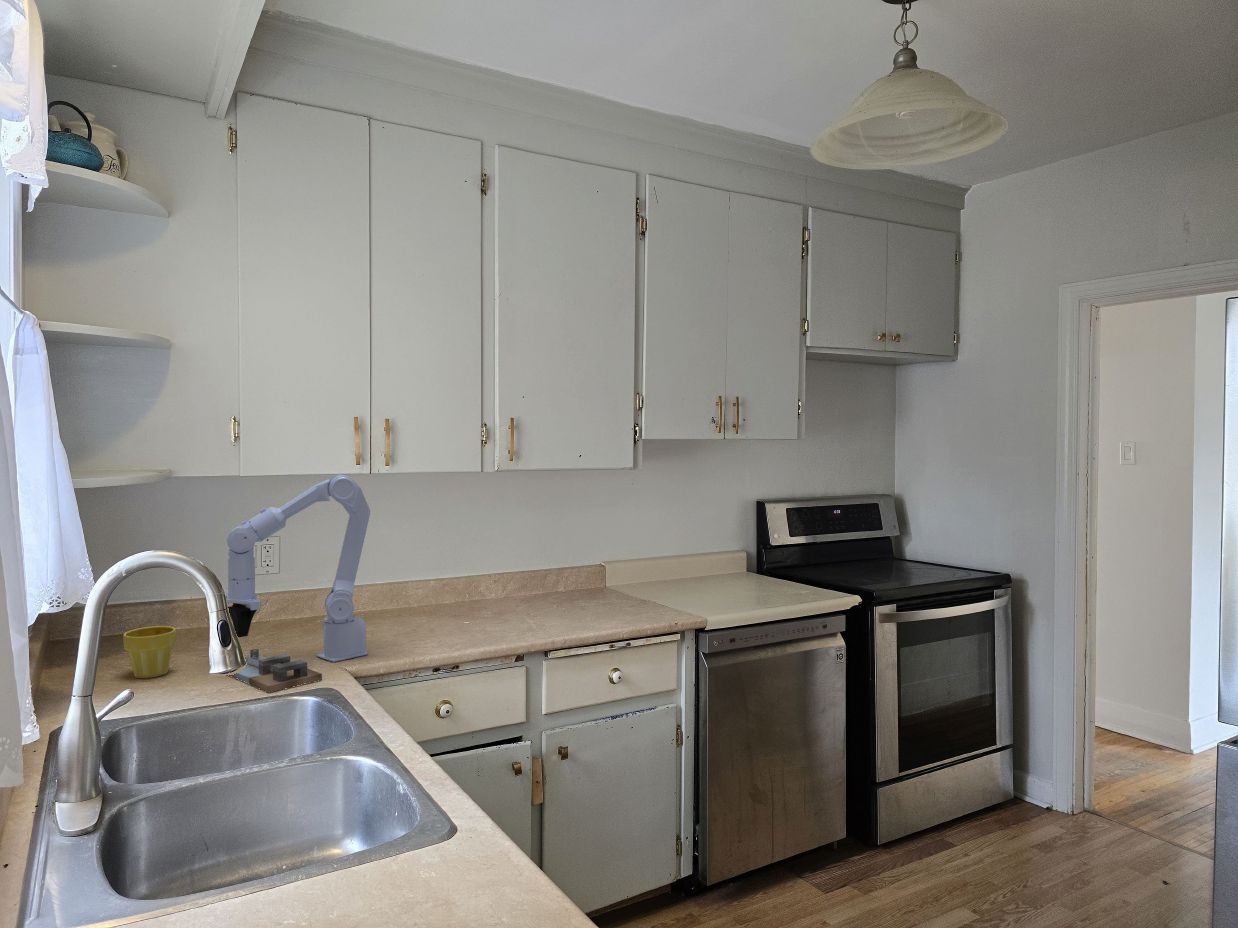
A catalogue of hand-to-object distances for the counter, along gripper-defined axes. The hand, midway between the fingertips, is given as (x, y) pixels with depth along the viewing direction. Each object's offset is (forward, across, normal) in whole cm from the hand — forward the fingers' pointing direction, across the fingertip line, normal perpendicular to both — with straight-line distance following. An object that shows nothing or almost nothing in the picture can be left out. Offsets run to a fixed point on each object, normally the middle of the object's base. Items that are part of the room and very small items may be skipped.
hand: (242, 636), depth 194 cm
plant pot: (+7, -8, -17) cm, 20 cm away
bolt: (+5, +10, 0) cm, 12 cm away
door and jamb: (+7, +14, 0) cm, 16 cm away
